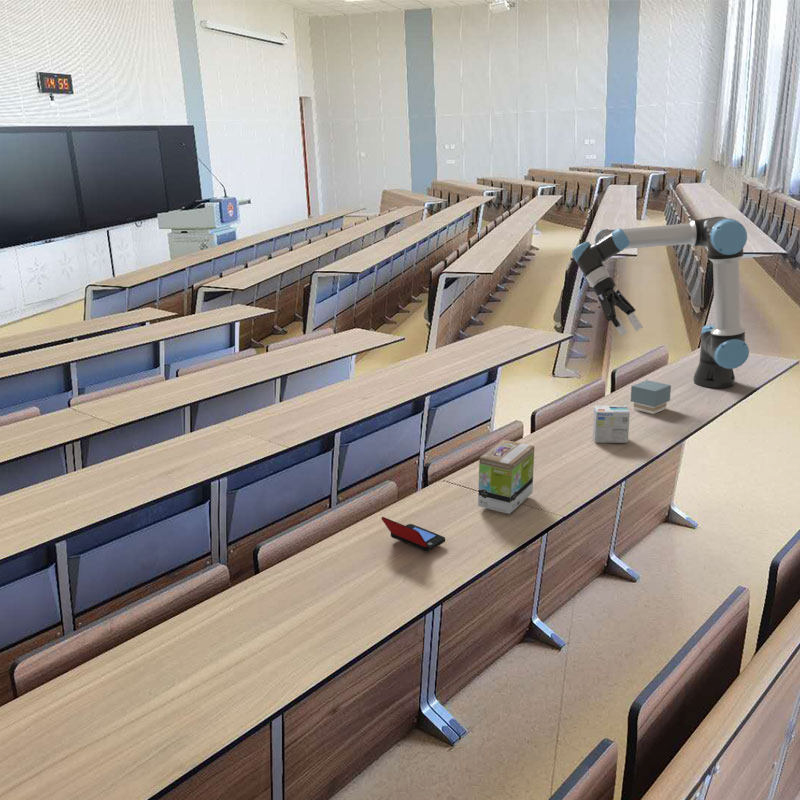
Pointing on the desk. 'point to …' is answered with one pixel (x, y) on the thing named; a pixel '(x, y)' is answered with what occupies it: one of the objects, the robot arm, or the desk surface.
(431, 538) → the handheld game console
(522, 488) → the tea box
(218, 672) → the desk surface
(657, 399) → the grey-blue square block
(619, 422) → the light bulb box
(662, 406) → the carton
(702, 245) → the robot arm
